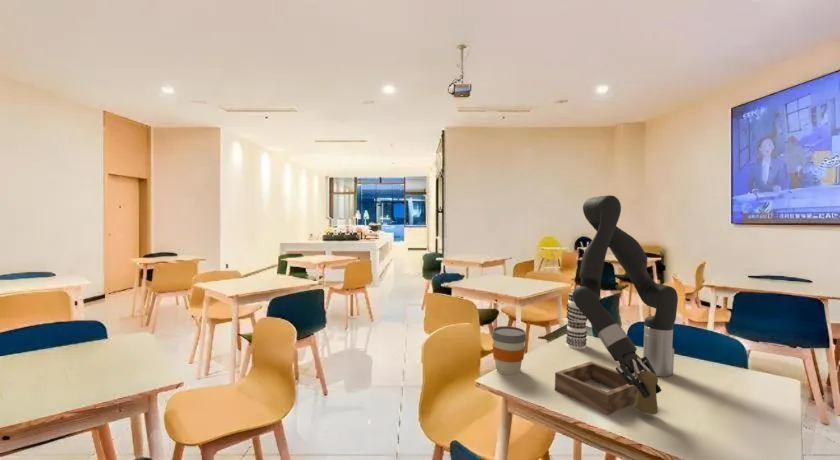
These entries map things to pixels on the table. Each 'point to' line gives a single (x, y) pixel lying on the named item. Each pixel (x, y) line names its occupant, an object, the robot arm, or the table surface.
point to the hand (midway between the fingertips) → (653, 394)
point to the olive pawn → (650, 402)
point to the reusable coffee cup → (508, 349)
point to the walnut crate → (605, 402)
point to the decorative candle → (575, 325)
